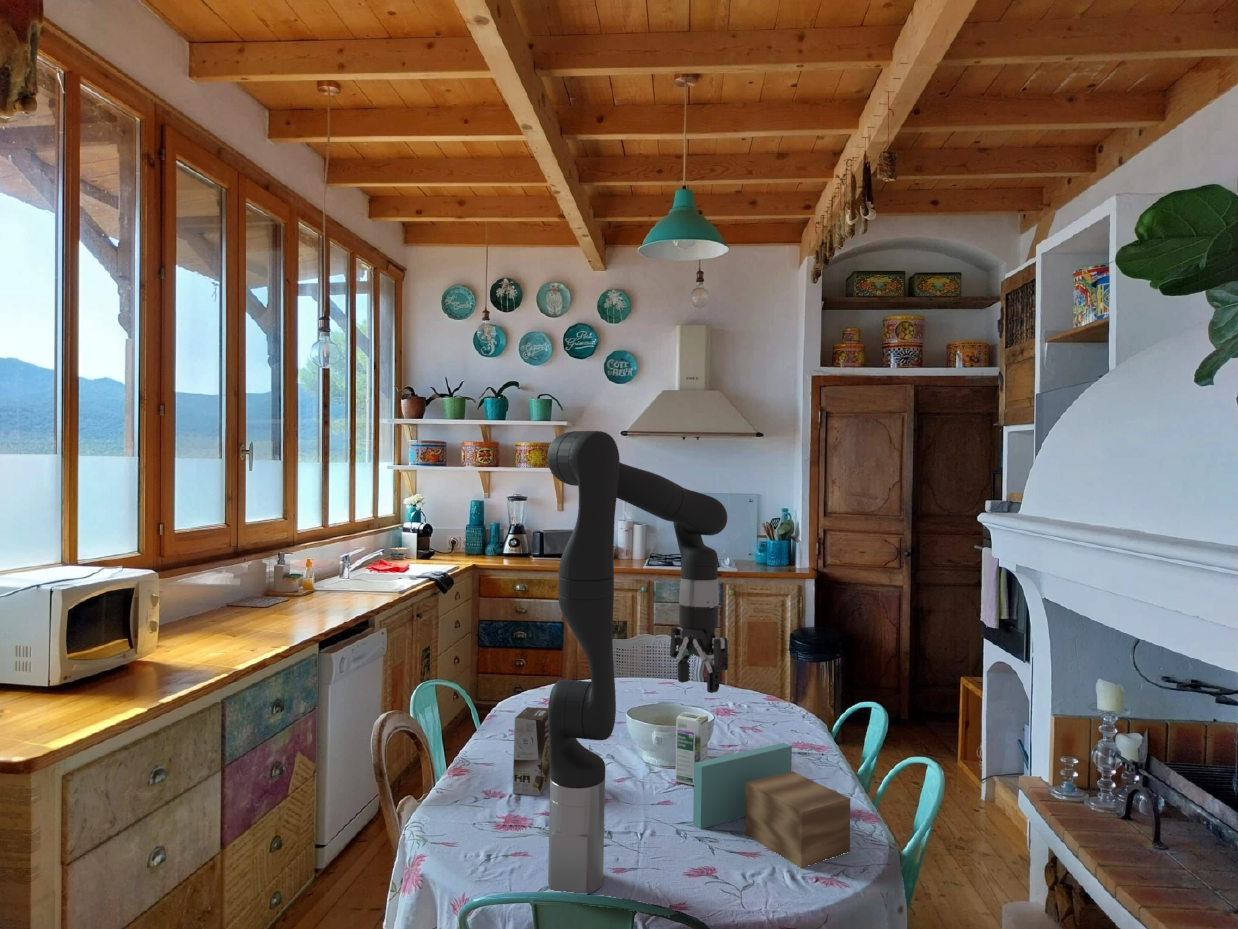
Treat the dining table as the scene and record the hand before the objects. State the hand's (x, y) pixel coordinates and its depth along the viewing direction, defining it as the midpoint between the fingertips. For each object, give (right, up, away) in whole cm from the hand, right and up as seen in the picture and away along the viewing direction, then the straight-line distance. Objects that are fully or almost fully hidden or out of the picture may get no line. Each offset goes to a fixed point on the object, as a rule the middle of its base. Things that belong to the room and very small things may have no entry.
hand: (697, 686), depth 149 cm
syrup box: (+1, -29, +26) cm, 39 cm away
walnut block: (+18, -28, -4) cm, 34 cm away
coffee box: (-34, -28, +20) cm, 48 cm away
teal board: (+10, -28, +9) cm, 31 cm away
